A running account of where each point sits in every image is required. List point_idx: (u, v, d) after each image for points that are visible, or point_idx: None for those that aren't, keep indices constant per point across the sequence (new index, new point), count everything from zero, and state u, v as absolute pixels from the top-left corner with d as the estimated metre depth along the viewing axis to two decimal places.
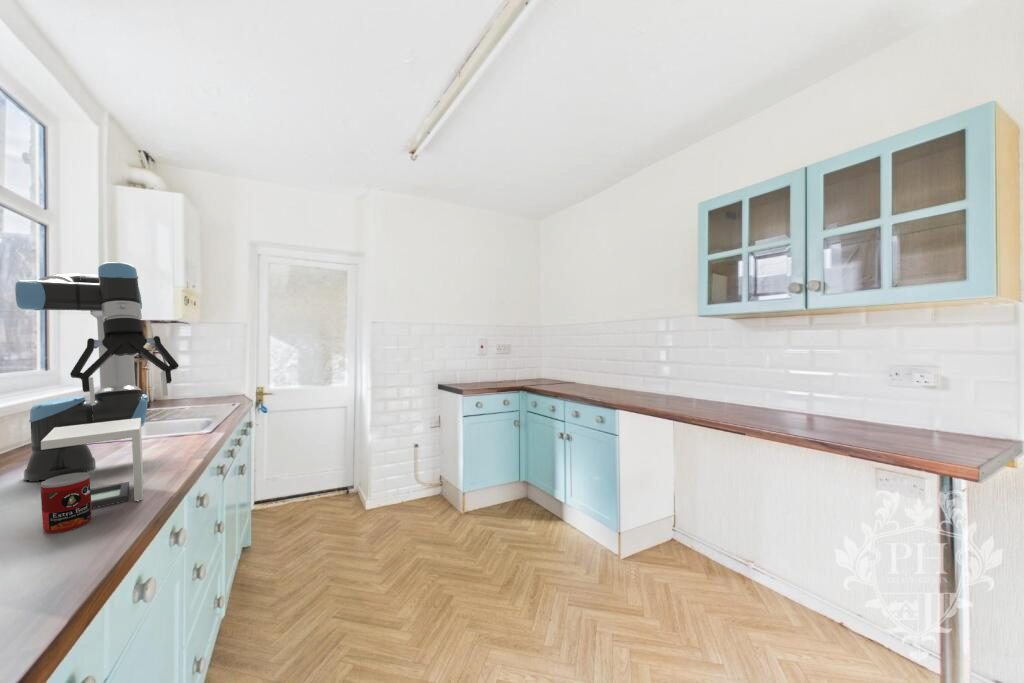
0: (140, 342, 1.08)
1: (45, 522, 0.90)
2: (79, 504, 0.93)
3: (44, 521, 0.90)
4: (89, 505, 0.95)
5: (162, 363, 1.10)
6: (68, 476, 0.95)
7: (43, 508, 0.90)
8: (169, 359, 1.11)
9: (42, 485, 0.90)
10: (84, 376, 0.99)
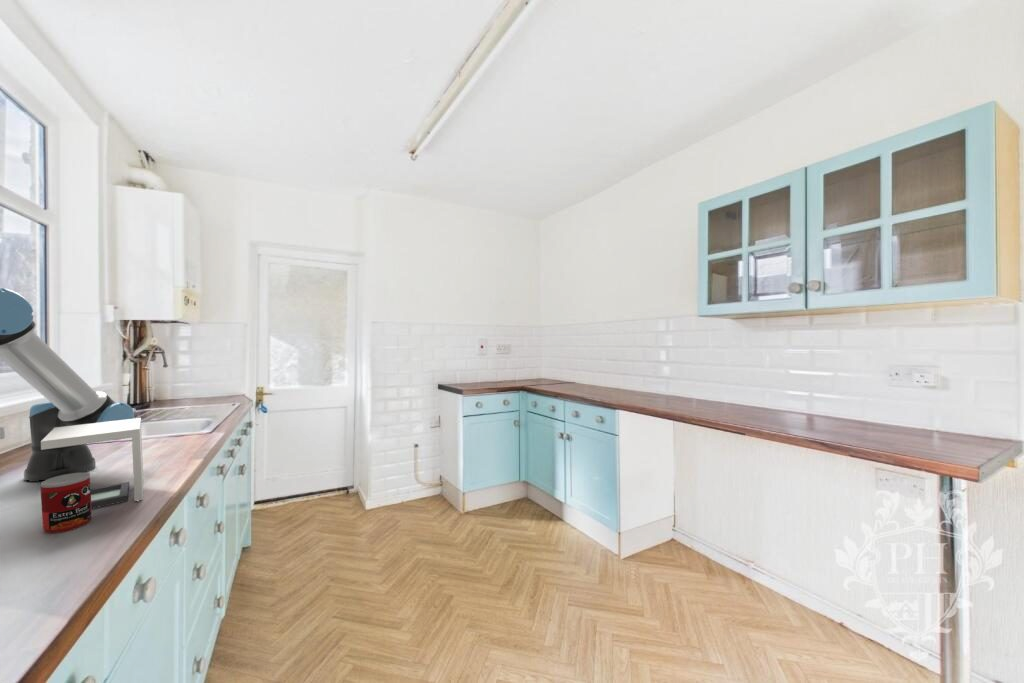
0: None
1: (45, 522, 0.90)
2: (79, 504, 0.93)
3: (44, 521, 0.90)
4: (89, 505, 0.95)
5: None
6: (68, 476, 0.95)
7: (43, 508, 0.90)
8: None
9: (42, 485, 0.90)
10: None
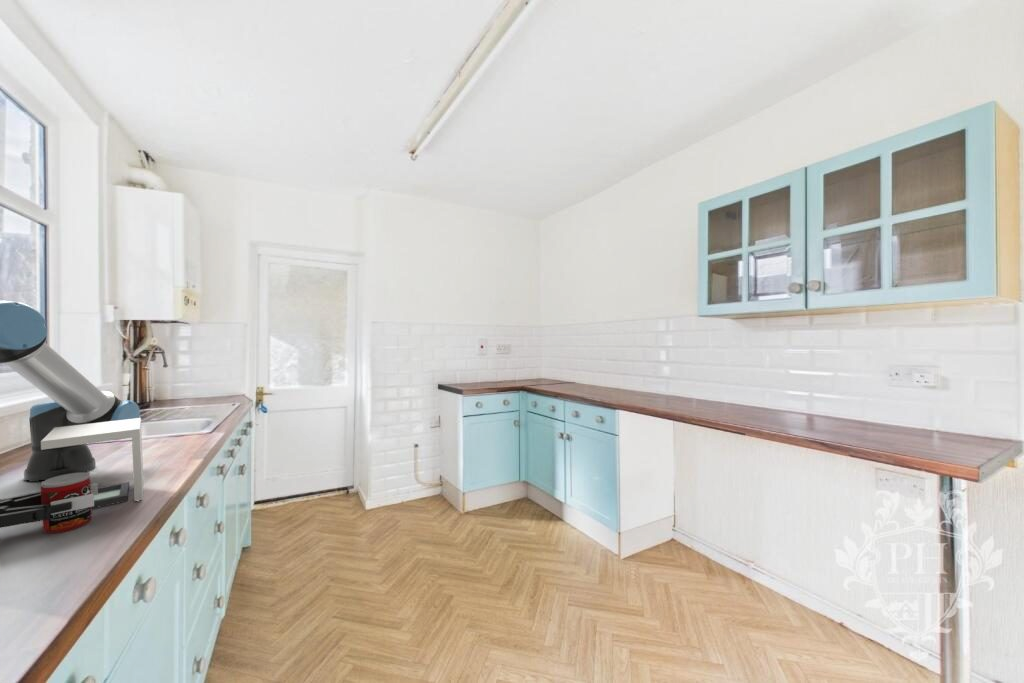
0: None
1: (45, 522, 0.90)
2: None
3: (44, 521, 0.90)
4: None
5: None
6: (68, 476, 0.95)
7: None
8: None
9: (42, 485, 0.90)
10: None
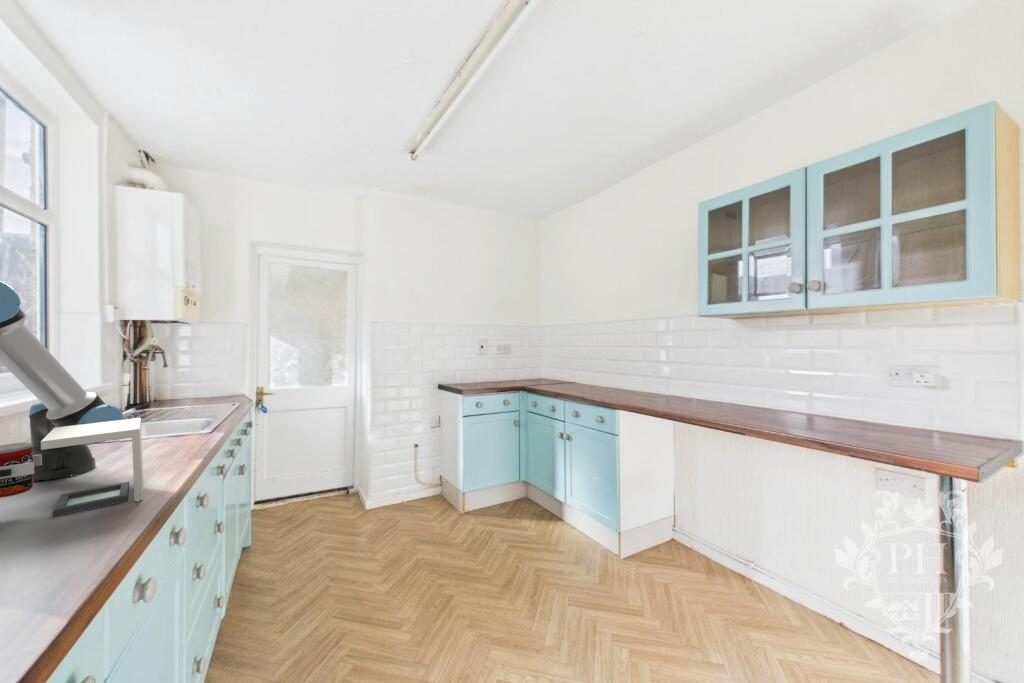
0: None
1: None
2: None
3: None
4: (30, 474, 0.99)
5: None
6: (11, 445, 1.00)
7: None
8: None
9: None
10: None
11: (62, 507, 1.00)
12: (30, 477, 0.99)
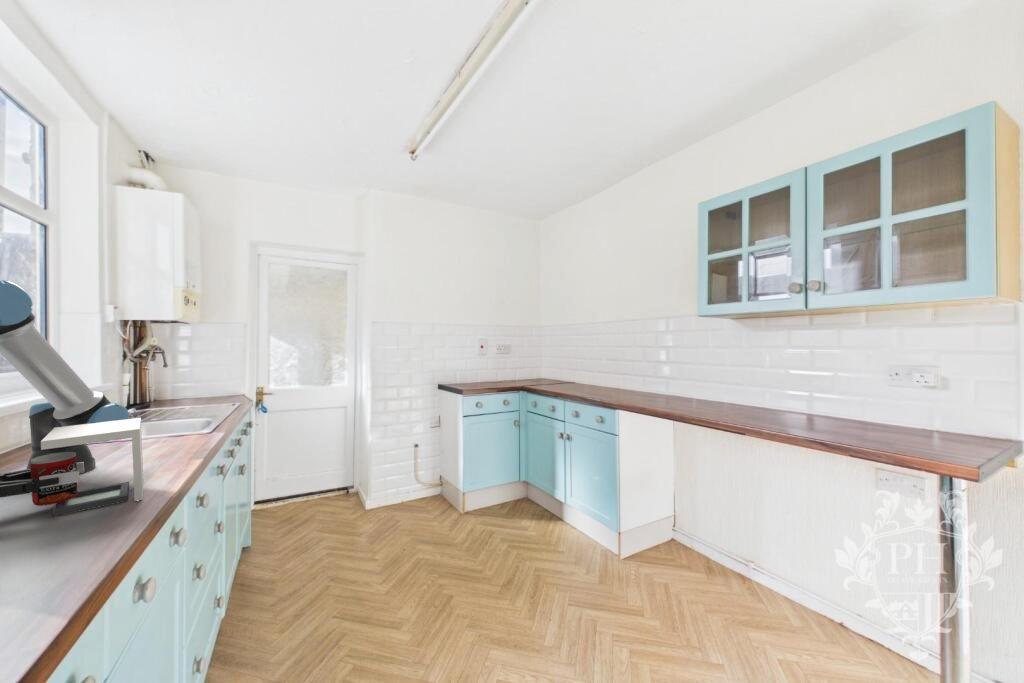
0: None
1: (34, 496, 0.98)
2: None
3: (33, 494, 0.99)
4: None
5: None
6: (56, 454, 1.04)
7: None
8: None
9: (31, 461, 0.98)
10: None
11: (62, 507, 1.00)
12: (75, 485, 1.04)
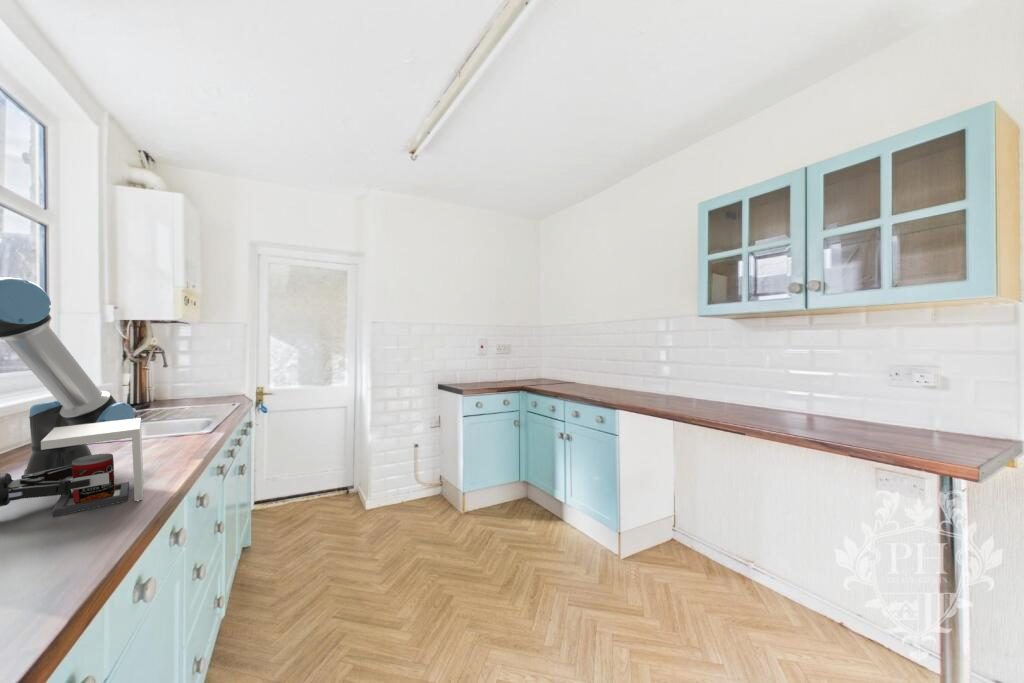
0: None
1: (76, 495, 1.03)
2: None
3: (75, 494, 1.04)
4: (112, 482, 1.09)
5: None
6: (94, 456, 1.09)
7: None
8: None
9: (73, 463, 1.03)
10: None
11: (62, 507, 1.00)
12: (112, 485, 1.09)
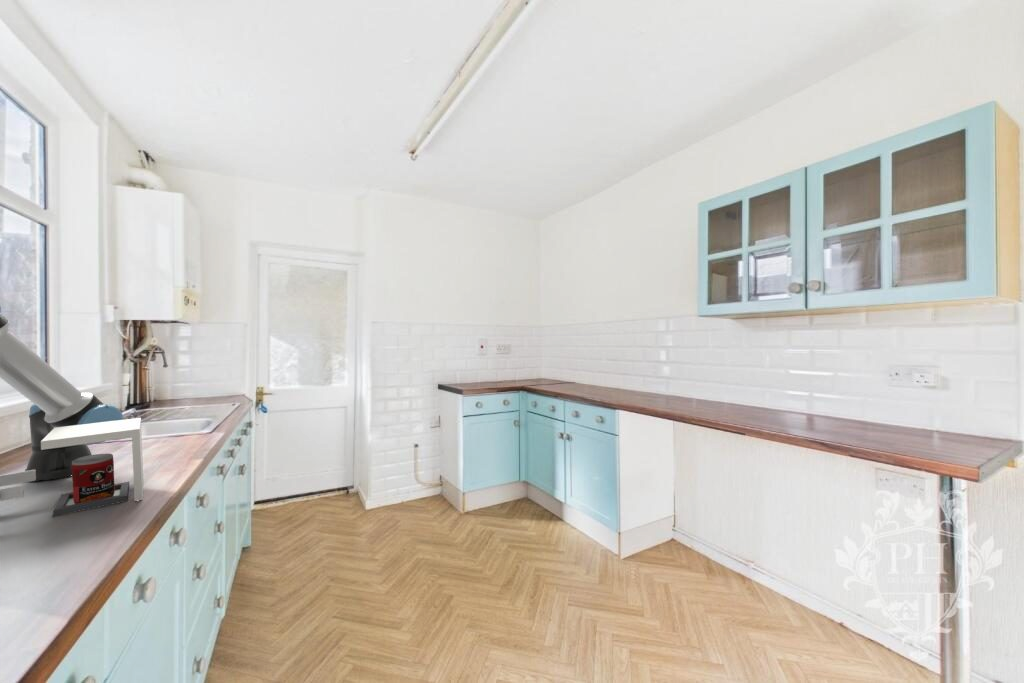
0: None
1: (76, 495, 1.03)
2: (104, 480, 1.06)
3: (75, 494, 1.04)
4: (112, 482, 1.09)
5: None
6: (94, 456, 1.09)
7: (74, 483, 1.04)
8: None
9: (73, 463, 1.03)
10: None
11: (62, 507, 1.00)
12: (112, 485, 1.09)
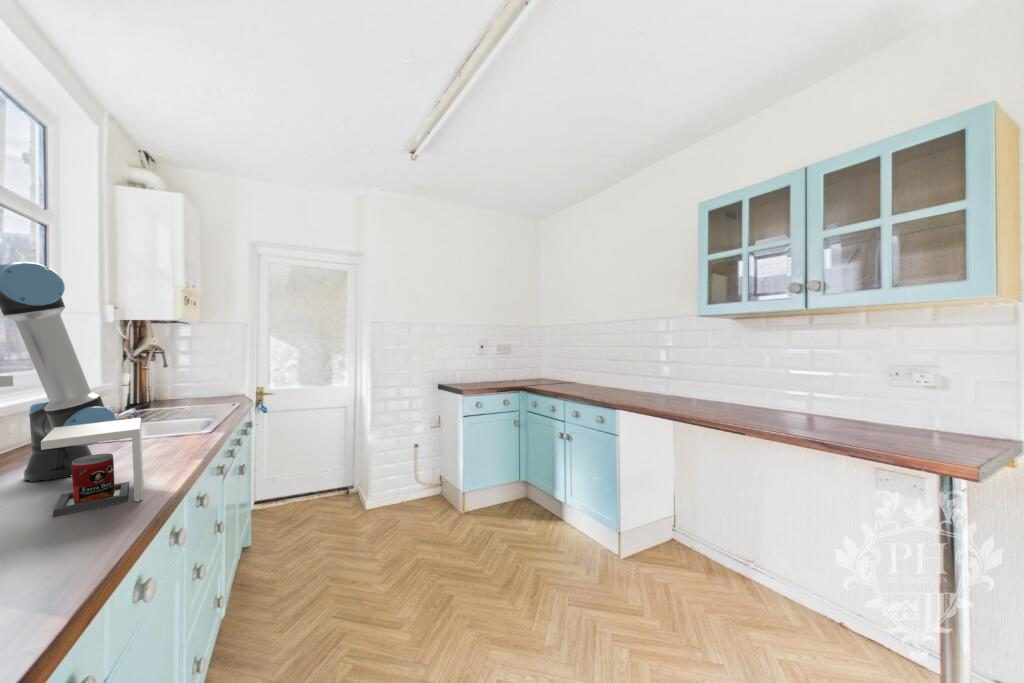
0: None
1: (76, 495, 1.03)
2: (104, 480, 1.06)
3: (75, 494, 1.04)
4: (112, 482, 1.09)
5: None
6: (94, 456, 1.09)
7: (74, 483, 1.04)
8: None
9: (73, 463, 1.03)
10: None
11: (62, 507, 1.00)
12: (112, 485, 1.09)
